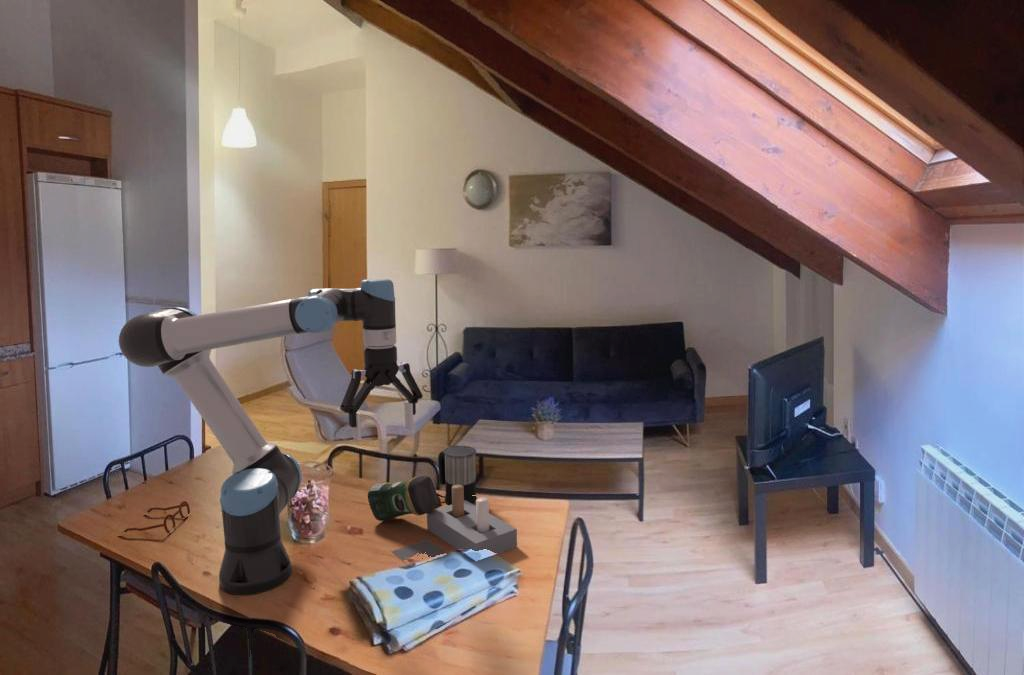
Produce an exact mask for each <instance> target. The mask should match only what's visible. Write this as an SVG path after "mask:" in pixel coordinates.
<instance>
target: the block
mask: <svg viewBox="0 0 1024 675" xmlns="http://www.w3.org/2000/svg"><path fill="white" fill-rule="evenodd" d="M426 524H427V525H426V526H427V527H426V528H427V529H426V530H428V531H429V532H431V533H432V534H434V535H435V536H436V537H438V538H440V539H441V540H442V541H444V542H446V543H447V544H449V545H450V546H451V547H453V548H454V549H456V550H457V549H472V550H474V551H479V550H483V549H487V550H490V551H492V552H494V553H497V555H500V554H502V553H505V552H507V551H510V550H512V549H516V548H518V534H517V533H518V529H517V528H516V527H515V526H512V525H511V524H509V523H508V522H505V521H504V520H502V519H500V518H498V517H497V516H495V515H493V514H491V513H489V531H488V532H485V533H482V534H480V533H479V532H477V515H476V504H474V503H473V504H472V503H470V502H468V501H466V500H465V501H464V486H463V485H454V486H452V505H449V504H448V505H446V506H443V507H439V508H435V509H434V510H433V511H431V512H429V513H426ZM504 551H505V552H504ZM499 553H500V554H499Z"/></svg>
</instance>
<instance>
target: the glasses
mask: <svg viewBox="0 0 1024 675" xmlns="http://www.w3.org/2000/svg"><path fill="white" fill-rule="evenodd" d="M184 507H186V509H187V513H188V514H189V513H190V514H191V509H190V508H191V507H190V504H189V503H188V502H187V501H185V500H184V501H181V502H180V503H179V505H178V504H177V505H173V506H169V507H151V508H149V509H148V510H147V511H146V512H148V513H149V512H152V511H154V510H155V511H158V510H159V511H168V510H169V511H170V510H174V509H178V510H177V511H175V512H174V513H173V515H172V514H167V515H166V516H164V519H163V523H159V524H155V525H151V526H145V527H139V528H138V527H128V528H126V529H124V530H123V531H122V532H126V533H127V532H131V531H137V532H142V531H148V530H153V529H157V528H161V527H163V528H164V531H165V532H166V533H167V534H168V533H169V532H170V531H171V530H169V528H168V526H167V520H168V518H170V519H171V521H172V528H174V527H175V528H176V521H175V518H176V516H177V515H180V518H181V519H182V518H185V517H186V516H185V515H184V514H183V511H182V508H184ZM149 514H150V513H149Z"/></svg>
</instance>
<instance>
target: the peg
mask: <svg viewBox="0 0 1024 675" xmlns="http://www.w3.org/2000/svg"><path fill="white" fill-rule="evenodd" d="M489 504H490V503H489V498H487V497H480V498H479V497H477V499H476V502H475V506H476V515H477V532H479V533H480V534H482V533H485V532H488V531H489V514H490V509H489V508H490V507H489V506H490V505H489Z"/></svg>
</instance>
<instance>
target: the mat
mask: <svg viewBox="0 0 1024 675" xmlns="http://www.w3.org/2000/svg"><path fill="white" fill-rule="evenodd" d="M425 552H426V553H425ZM391 553H392V554H393V555H395V556H396V557H397V558H399V559H400V560H401V561H402V562H403V561H404V560H406V559H407V558H409V557H410V558H411V557H413V556H414V555H416V554H417V553H419V554H421V553H422V554H424V553H425V554H427V555H428V557H430V556H431V557H435V556H436V555H440V554H444V553H447V551H444V550H443V549H441V547H439V546H438V545H436V544H435V543H433V542H431V541H430V540H429V539H424V540H422V541H418V542H415V543H413V544H410V545H407V546H404V547H401V548H397V549H395V550H392V551H391ZM419 554H418V555H419ZM418 555H417V556H418ZM406 557H407V558H406ZM405 558H406V559H405ZM422 559H423V558H422ZM408 560H409V559H408Z"/></svg>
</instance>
